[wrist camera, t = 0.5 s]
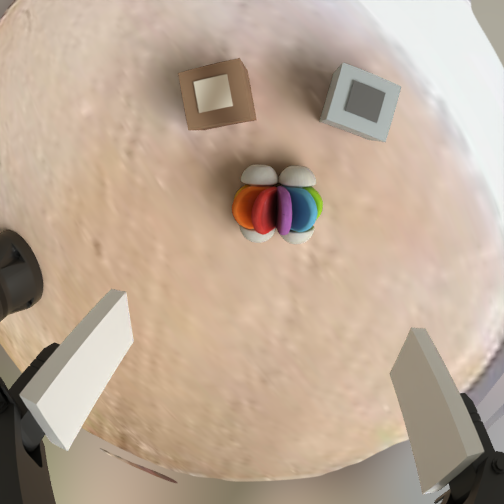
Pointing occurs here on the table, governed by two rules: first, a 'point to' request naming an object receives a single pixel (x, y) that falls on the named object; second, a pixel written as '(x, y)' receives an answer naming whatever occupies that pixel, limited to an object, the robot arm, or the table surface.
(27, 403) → the robot arm
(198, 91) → the walnut block
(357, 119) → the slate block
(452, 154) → the table surface
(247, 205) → the rainbow segmented toy
